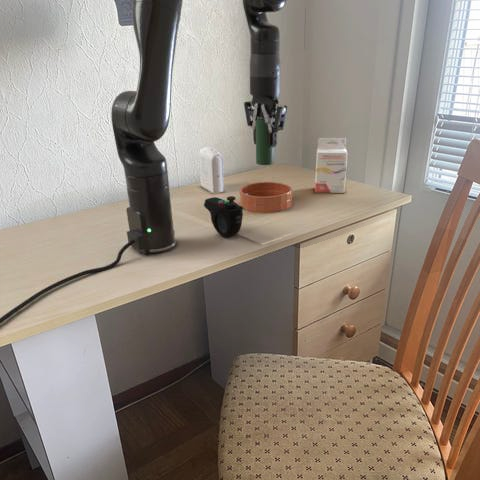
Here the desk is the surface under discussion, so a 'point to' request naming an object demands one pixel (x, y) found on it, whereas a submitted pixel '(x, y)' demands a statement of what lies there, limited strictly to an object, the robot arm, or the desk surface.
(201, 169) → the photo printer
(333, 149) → the ink cartridge box
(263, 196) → the bowl
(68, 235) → the desk surface
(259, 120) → the green cylinder
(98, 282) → the desk surface
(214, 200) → the controller
